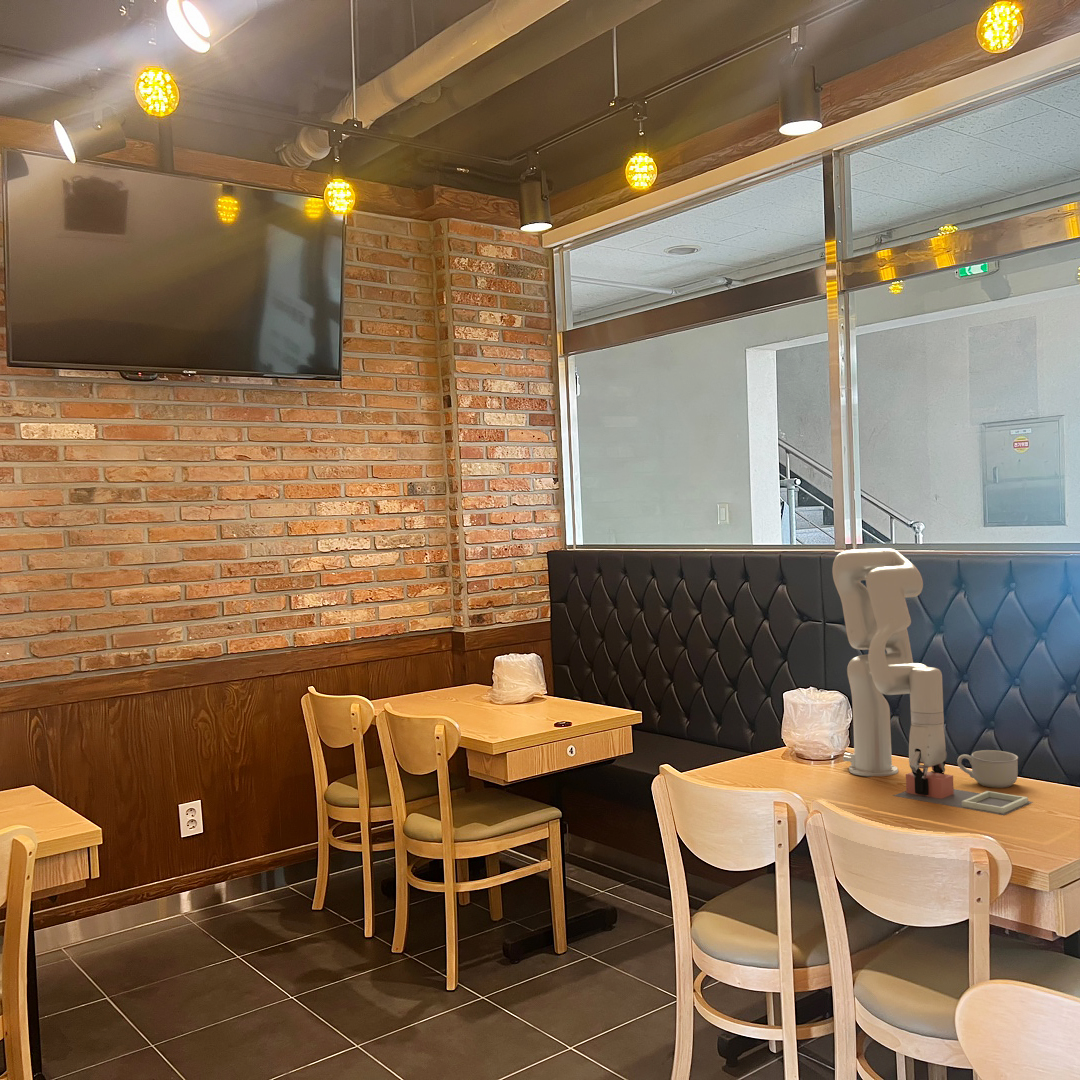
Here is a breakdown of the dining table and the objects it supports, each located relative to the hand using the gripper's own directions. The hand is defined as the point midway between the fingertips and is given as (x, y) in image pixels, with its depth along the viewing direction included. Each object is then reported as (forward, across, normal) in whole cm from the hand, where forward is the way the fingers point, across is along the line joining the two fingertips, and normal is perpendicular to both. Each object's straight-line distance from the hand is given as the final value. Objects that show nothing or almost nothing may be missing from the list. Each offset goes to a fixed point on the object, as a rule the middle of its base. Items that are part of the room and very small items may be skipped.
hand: (930, 790), depth 250 cm
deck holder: (+1, 0, +16) cm, 16 cm away
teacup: (+1, -18, +6) cm, 19 cm away
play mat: (+1, 0, +8) cm, 8 cm away
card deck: (+1, 0, 0) cm, 1 cm away
